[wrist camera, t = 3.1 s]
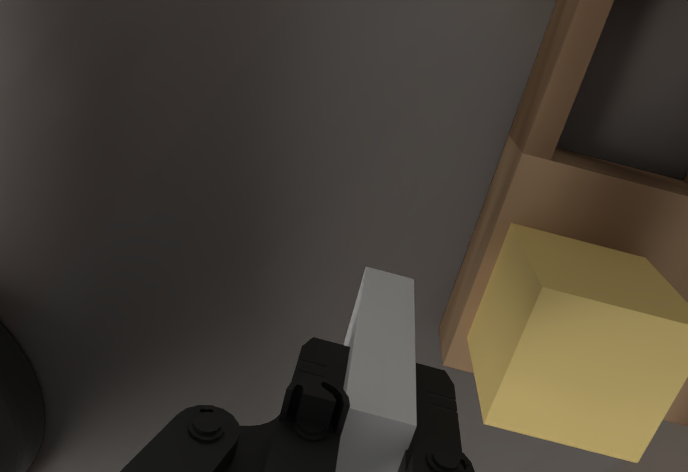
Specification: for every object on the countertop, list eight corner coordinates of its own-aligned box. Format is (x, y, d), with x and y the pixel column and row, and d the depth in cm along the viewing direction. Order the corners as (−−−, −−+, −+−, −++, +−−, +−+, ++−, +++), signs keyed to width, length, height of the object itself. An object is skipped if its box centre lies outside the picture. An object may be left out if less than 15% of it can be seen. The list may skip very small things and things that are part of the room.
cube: (466, 337, 23) (483, 423, 18) (511, 222, 21) (542, 286, 16) (590, 369, 23) (637, 463, 18) (645, 257, 21) (714, 331, 17)
